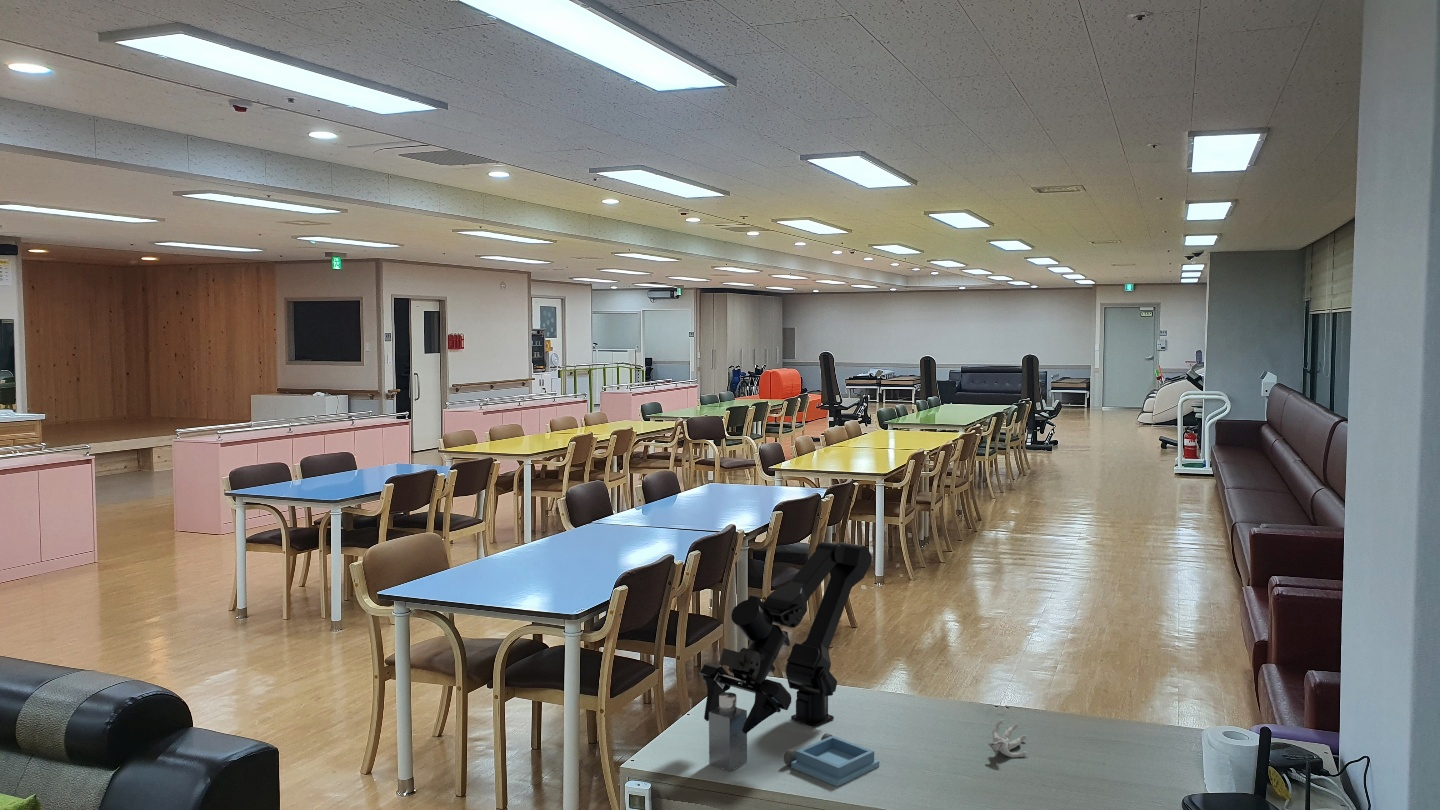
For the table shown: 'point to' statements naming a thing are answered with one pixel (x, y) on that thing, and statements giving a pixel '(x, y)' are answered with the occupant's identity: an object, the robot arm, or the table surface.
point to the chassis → (832, 760)
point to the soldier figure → (1006, 741)
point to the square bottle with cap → (727, 734)
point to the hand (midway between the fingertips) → (724, 726)
